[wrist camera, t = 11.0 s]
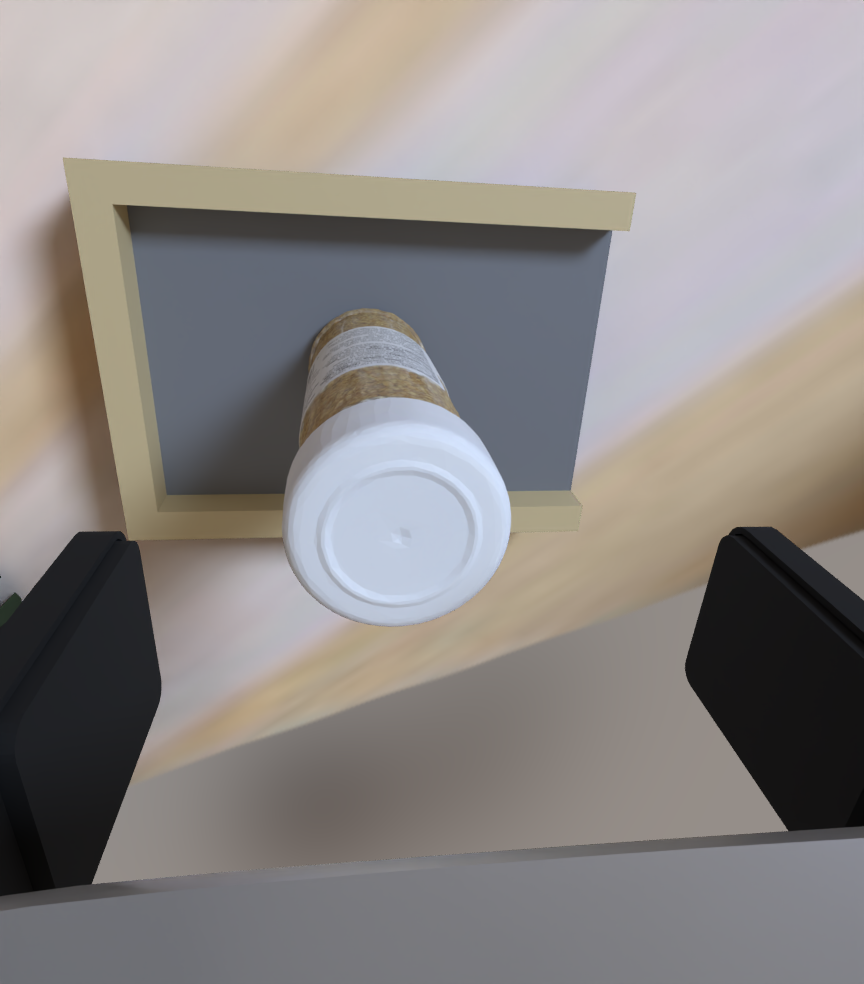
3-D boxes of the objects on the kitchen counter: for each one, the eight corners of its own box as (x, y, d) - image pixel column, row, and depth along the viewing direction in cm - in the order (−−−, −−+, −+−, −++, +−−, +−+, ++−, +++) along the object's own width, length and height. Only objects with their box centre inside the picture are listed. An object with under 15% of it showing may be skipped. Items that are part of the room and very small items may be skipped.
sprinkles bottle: (407, 434, 26) (471, 652, 14) (294, 405, 24) (255, 615, 12) (442, 324, 24) (552, 461, 12) (323, 287, 23) (311, 397, 11)
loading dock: (597, 191, 25) (635, 192, 21) (552, 495, 30) (578, 531, 27) (101, 162, 22) (62, 157, 19) (151, 500, 27) (128, 540, 24)
